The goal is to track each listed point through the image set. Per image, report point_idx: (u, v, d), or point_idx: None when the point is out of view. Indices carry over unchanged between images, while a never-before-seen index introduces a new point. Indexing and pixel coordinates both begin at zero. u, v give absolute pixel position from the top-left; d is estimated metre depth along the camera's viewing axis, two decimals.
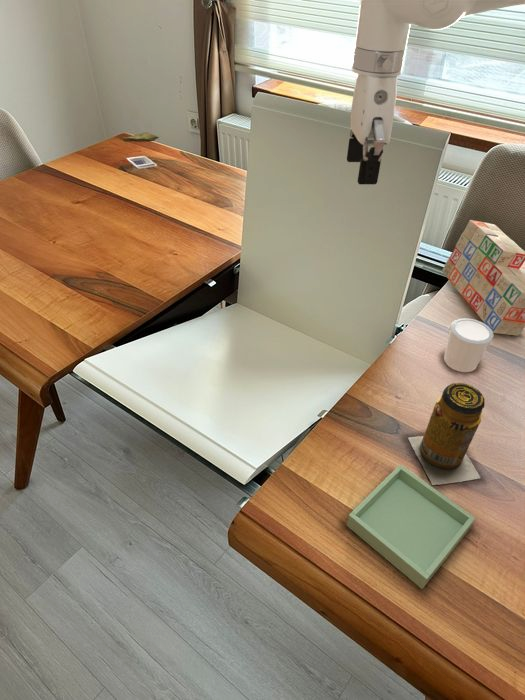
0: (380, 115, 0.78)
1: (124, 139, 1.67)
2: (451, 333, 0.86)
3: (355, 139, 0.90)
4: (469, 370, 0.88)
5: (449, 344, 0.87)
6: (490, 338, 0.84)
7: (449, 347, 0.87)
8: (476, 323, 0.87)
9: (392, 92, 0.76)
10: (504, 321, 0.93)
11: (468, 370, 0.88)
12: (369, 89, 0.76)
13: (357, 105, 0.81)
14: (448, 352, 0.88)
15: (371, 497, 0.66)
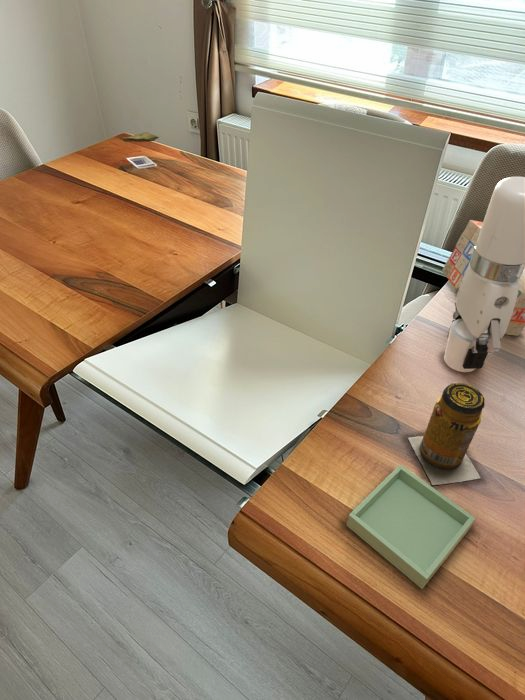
0: (498, 317, 0.77)
1: (124, 139, 1.67)
2: (451, 333, 0.86)
3: None
4: (469, 370, 0.88)
5: (449, 344, 0.87)
6: None
7: (449, 347, 0.87)
8: None
9: (513, 298, 0.76)
10: None
11: (468, 370, 0.88)
12: (490, 296, 0.76)
13: (471, 300, 0.80)
14: (448, 352, 0.88)
15: (371, 497, 0.66)
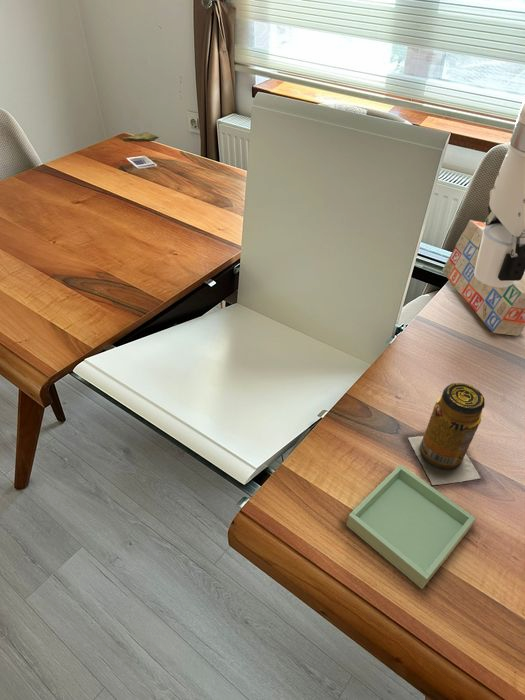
0: None
1: (124, 139, 1.67)
2: (484, 238, 0.72)
3: None
4: (504, 285, 0.74)
5: (481, 253, 0.73)
6: None
7: (481, 257, 0.73)
8: None
9: None
10: (504, 321, 0.93)
11: (504, 285, 0.74)
12: None
13: (511, 190, 0.66)
14: (480, 264, 0.74)
15: (371, 497, 0.66)
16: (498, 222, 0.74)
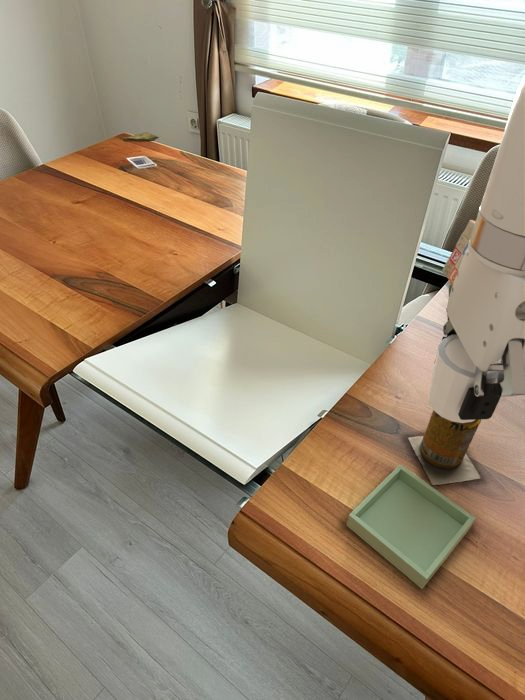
0: (523, 336, 0.43)
1: (124, 139, 1.67)
2: (439, 360, 0.51)
3: None
4: (468, 420, 0.53)
5: (436, 377, 0.52)
6: None
7: (436, 382, 0.53)
8: None
9: None
10: None
11: (467, 420, 0.53)
12: (509, 298, 0.41)
13: (473, 305, 0.45)
14: (434, 390, 0.53)
15: (371, 497, 0.66)
16: None
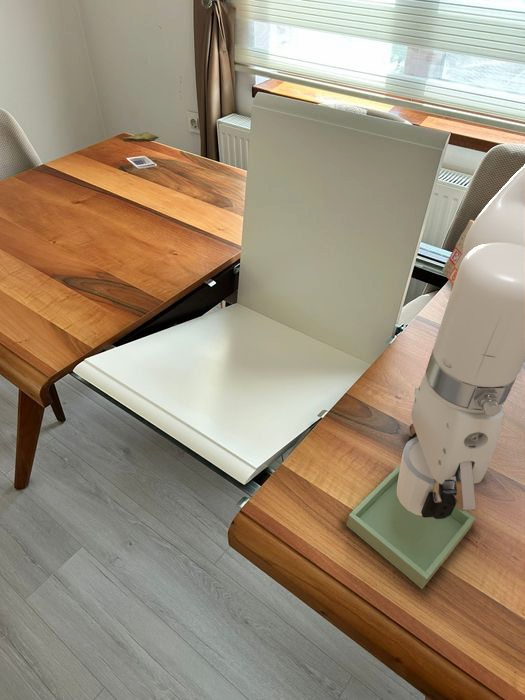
0: (472, 459, 0.48)
1: (124, 139, 1.67)
2: (403, 463, 0.57)
3: None
4: None
5: (401, 476, 0.58)
6: None
7: (401, 480, 0.58)
8: None
9: (494, 434, 0.47)
10: None
11: None
12: (458, 430, 0.46)
13: (431, 425, 0.51)
14: (400, 486, 0.59)
15: (371, 497, 0.66)
16: None
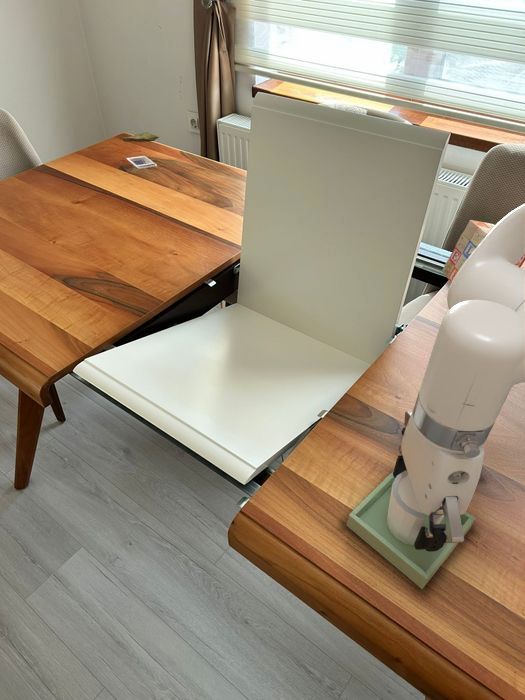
0: (455, 494, 0.52)
1: (124, 139, 1.67)
2: (392, 496, 0.61)
3: None
4: None
5: (391, 508, 0.62)
6: None
7: (391, 512, 0.62)
8: None
9: (476, 472, 0.50)
10: None
11: None
12: (442, 469, 0.50)
13: (418, 461, 0.55)
14: (390, 517, 0.63)
15: (371, 497, 0.66)
16: None
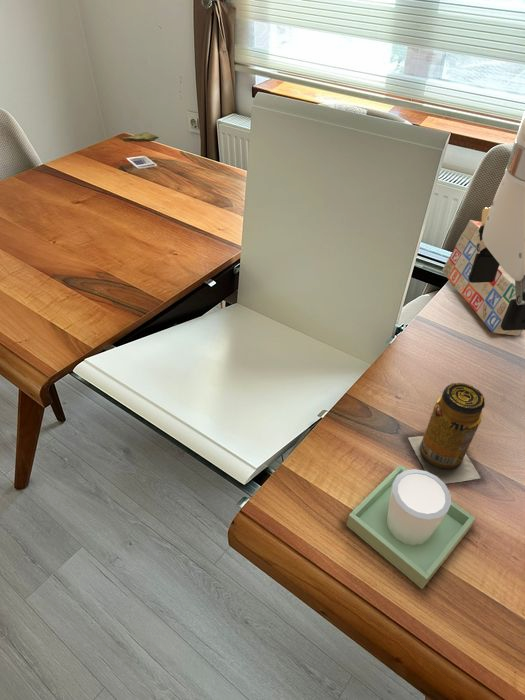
0: None
1: (124, 139, 1.67)
2: (392, 496, 0.61)
3: (485, 255, 0.63)
4: (419, 543, 0.63)
5: (391, 508, 0.62)
6: (446, 508, 0.59)
7: (391, 512, 0.62)
8: (429, 479, 0.62)
9: None
10: None
11: (418, 543, 0.63)
12: None
13: (509, 225, 0.54)
14: (390, 517, 0.63)
15: (371, 497, 0.66)
16: None
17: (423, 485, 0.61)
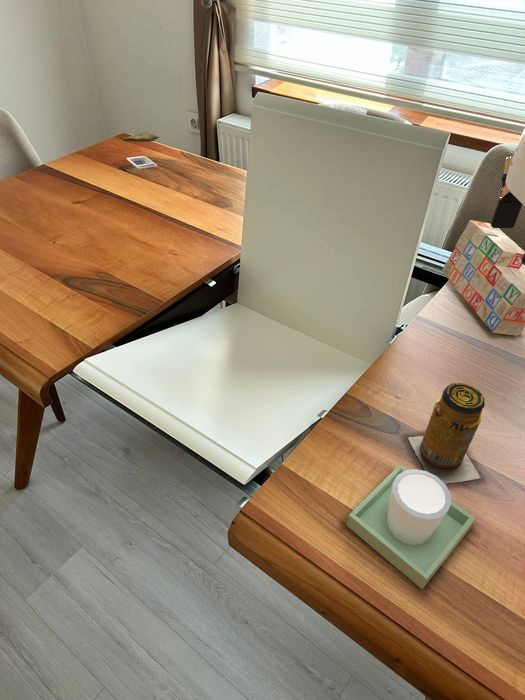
0: None
1: (124, 139, 1.67)
2: (392, 496, 0.61)
3: (507, 201, 0.69)
4: (419, 543, 0.63)
5: (391, 508, 0.62)
6: (446, 508, 0.59)
7: (391, 512, 0.62)
8: (429, 479, 0.62)
9: None
10: (504, 321, 0.93)
11: (418, 543, 0.63)
12: None
13: None
14: (390, 517, 0.63)
15: (371, 497, 0.66)
16: (513, 194, 0.69)
17: (423, 485, 0.61)
